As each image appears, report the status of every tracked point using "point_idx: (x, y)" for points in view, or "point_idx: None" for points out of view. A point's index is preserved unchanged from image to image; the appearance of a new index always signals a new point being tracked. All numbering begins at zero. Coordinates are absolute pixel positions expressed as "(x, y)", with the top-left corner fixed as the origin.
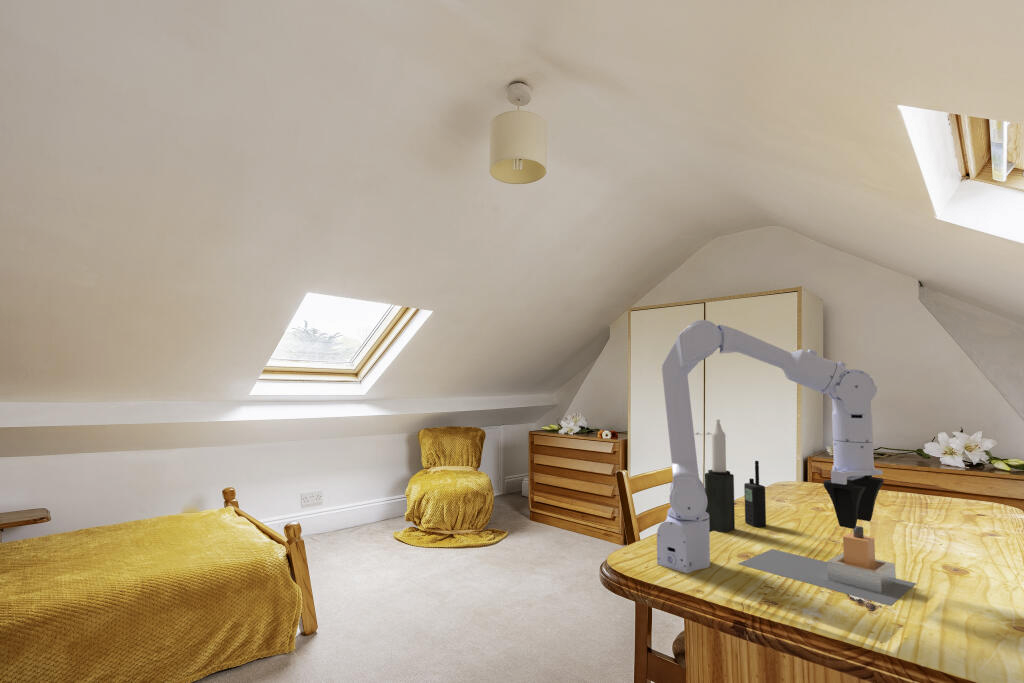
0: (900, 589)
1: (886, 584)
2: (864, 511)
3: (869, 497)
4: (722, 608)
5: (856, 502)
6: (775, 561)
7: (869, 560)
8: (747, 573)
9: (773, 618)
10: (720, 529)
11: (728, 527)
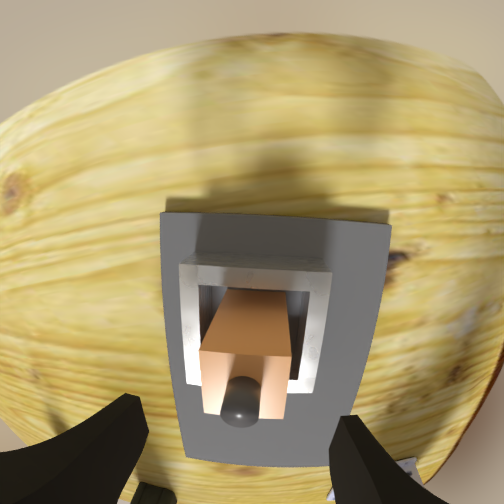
0: (246, 230)
1: (277, 258)
2: (126, 436)
3: (83, 472)
4: (491, 388)
5: (434, 495)
6: (262, 445)
7: (276, 320)
8: None
9: (500, 341)
10: (171, 500)
11: (156, 495)
